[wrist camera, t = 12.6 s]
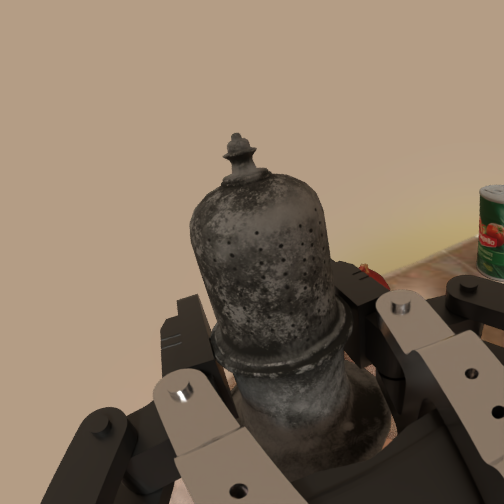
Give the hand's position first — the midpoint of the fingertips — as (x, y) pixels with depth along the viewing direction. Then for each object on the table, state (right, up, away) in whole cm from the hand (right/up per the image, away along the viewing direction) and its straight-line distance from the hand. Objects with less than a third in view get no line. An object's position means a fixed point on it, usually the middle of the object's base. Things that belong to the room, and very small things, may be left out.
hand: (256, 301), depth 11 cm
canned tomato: (+35, -1, +25) cm, 43 cm away
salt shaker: (+2, -7, 0) cm, 7 cm away
